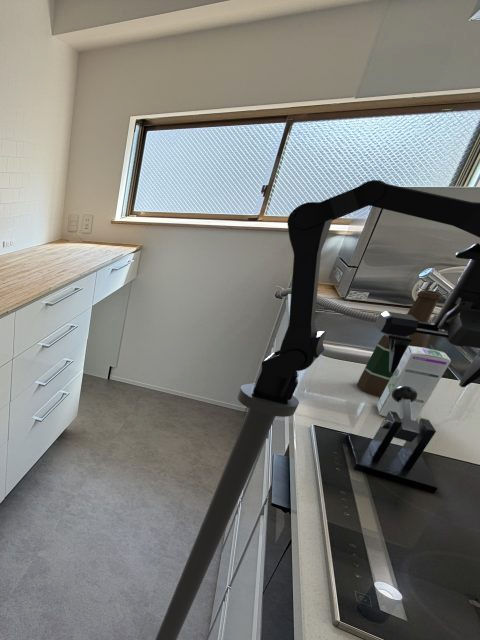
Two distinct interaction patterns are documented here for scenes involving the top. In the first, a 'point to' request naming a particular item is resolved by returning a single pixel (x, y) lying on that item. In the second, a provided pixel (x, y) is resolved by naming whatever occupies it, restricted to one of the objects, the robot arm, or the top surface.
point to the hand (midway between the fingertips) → (425, 379)
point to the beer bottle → (378, 365)
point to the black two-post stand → (394, 454)
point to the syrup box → (414, 378)
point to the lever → (406, 413)
